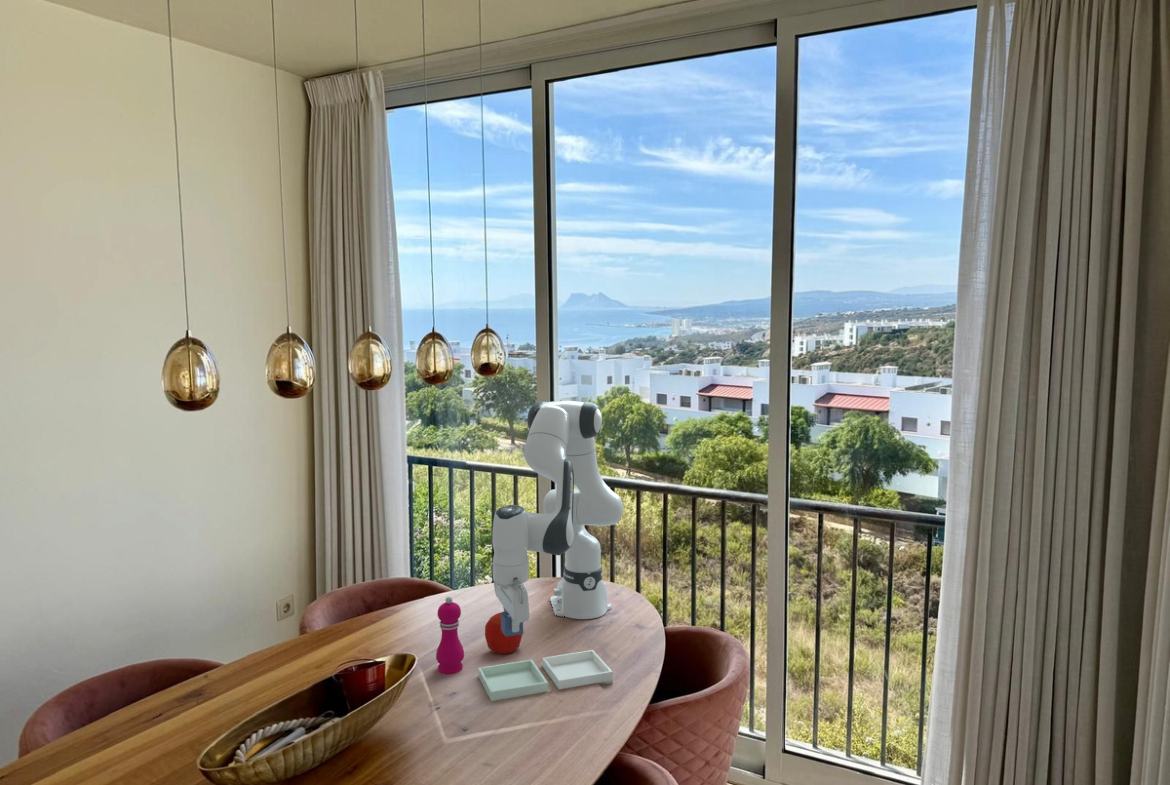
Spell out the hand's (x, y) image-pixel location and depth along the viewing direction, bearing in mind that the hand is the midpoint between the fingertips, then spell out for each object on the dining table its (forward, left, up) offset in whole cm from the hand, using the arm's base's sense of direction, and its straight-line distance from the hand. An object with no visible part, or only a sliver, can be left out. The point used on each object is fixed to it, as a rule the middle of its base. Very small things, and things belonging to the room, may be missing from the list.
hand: (512, 626), depth 193 cm
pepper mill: (-14, -13, -16) cm, 25 cm away
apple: (-21, +3, -16) cm, 26 cm away
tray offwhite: (0, +17, -15) cm, 23 cm away
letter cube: (0, 0, -1) cm, 1 cm away
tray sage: (0, 0, -15) cm, 15 cm away
